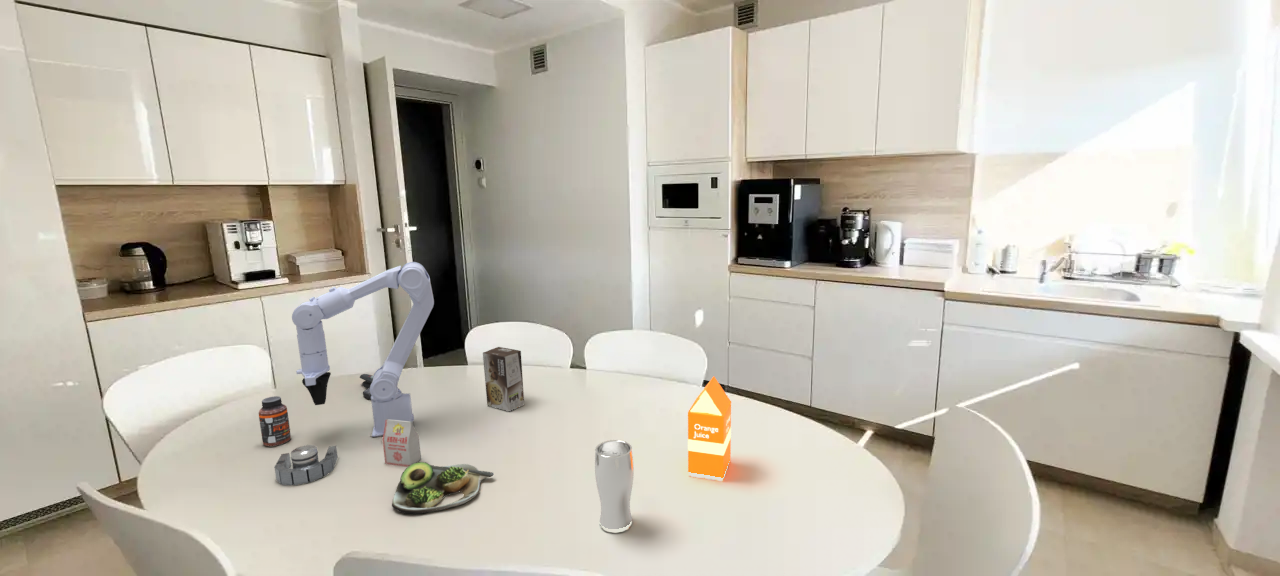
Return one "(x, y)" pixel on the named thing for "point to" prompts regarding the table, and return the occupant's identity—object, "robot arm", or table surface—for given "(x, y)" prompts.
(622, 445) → the beer glass
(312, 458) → the cylinder
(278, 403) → the supplement bottle
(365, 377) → the can opener
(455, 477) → the avocado toast plate
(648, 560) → the table surface
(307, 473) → the split ring collar
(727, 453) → the orange juice
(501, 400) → the coffee box
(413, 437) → the white paper bag
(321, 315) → the robot arm
